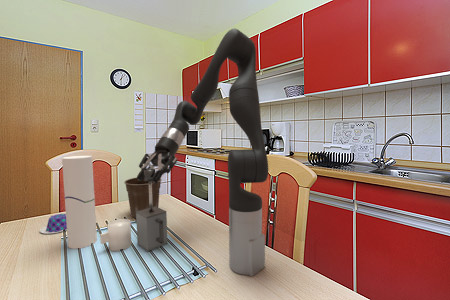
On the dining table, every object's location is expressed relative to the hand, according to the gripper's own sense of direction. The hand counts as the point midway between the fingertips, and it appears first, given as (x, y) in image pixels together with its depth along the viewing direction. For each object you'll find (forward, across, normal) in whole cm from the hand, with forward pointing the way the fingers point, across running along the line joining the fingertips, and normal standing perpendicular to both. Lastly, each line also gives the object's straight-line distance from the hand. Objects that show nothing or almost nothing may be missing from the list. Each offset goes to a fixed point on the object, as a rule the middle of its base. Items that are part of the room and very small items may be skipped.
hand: (146, 180), depth 75 cm
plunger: (+8, 0, -10) cm, 13 cm away
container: (+22, +22, -10) cm, 33 cm away
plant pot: (+1, +25, -31) cm, 39 cm away
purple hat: (+21, +44, -12) cm, 50 cm away
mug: (+20, +9, -12) cm, 25 cm away
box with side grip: (+15, -1, -17) cm, 22 cm away
